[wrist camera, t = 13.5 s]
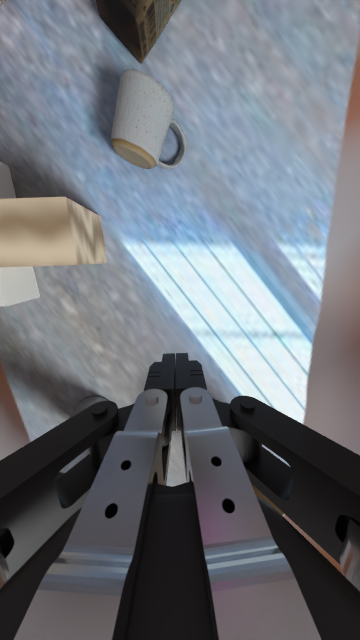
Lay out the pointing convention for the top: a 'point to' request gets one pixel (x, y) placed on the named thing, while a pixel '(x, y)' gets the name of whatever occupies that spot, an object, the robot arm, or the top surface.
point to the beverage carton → (137, 21)
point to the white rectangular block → (14, 281)
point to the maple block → (49, 233)
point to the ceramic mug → (143, 121)
